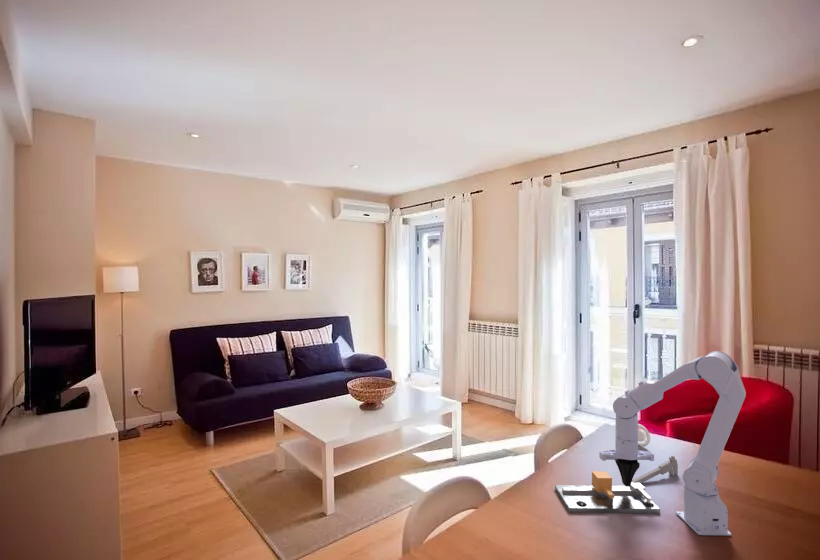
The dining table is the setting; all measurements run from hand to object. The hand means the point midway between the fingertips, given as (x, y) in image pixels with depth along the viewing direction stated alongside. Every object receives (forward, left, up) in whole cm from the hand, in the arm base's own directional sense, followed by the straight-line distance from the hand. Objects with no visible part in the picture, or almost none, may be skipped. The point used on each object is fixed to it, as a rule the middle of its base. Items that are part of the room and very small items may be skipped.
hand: (626, 484), depth 120 cm
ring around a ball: (+35, -21, -4) cm, 41 cm away
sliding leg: (-2, +7, -2) cm, 8 cm away
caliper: (+10, -13, -4) cm, 17 cm away
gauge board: (-2, +7, -4) cm, 8 cm away
